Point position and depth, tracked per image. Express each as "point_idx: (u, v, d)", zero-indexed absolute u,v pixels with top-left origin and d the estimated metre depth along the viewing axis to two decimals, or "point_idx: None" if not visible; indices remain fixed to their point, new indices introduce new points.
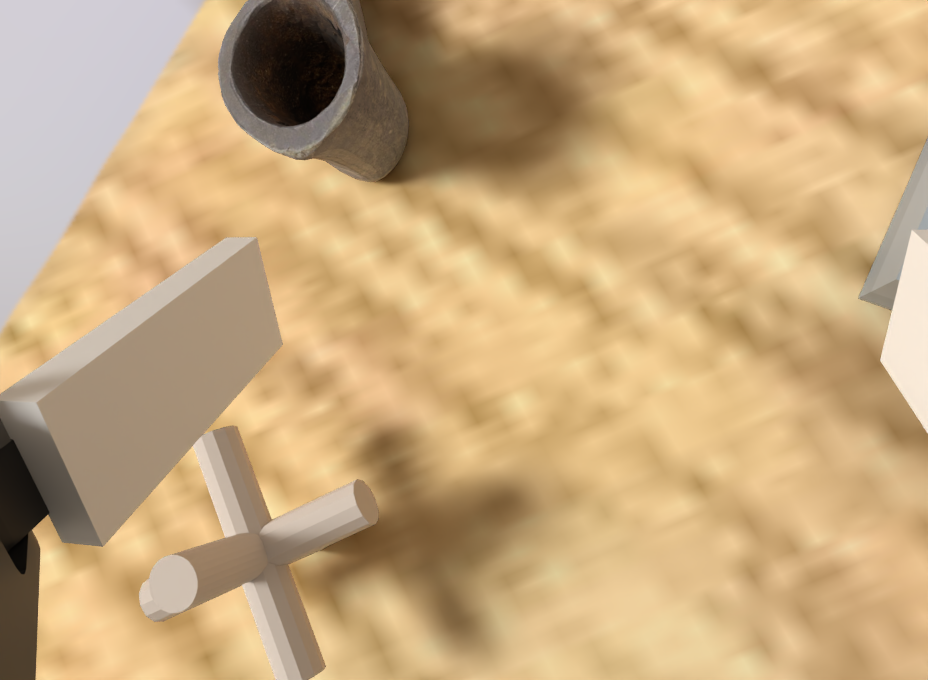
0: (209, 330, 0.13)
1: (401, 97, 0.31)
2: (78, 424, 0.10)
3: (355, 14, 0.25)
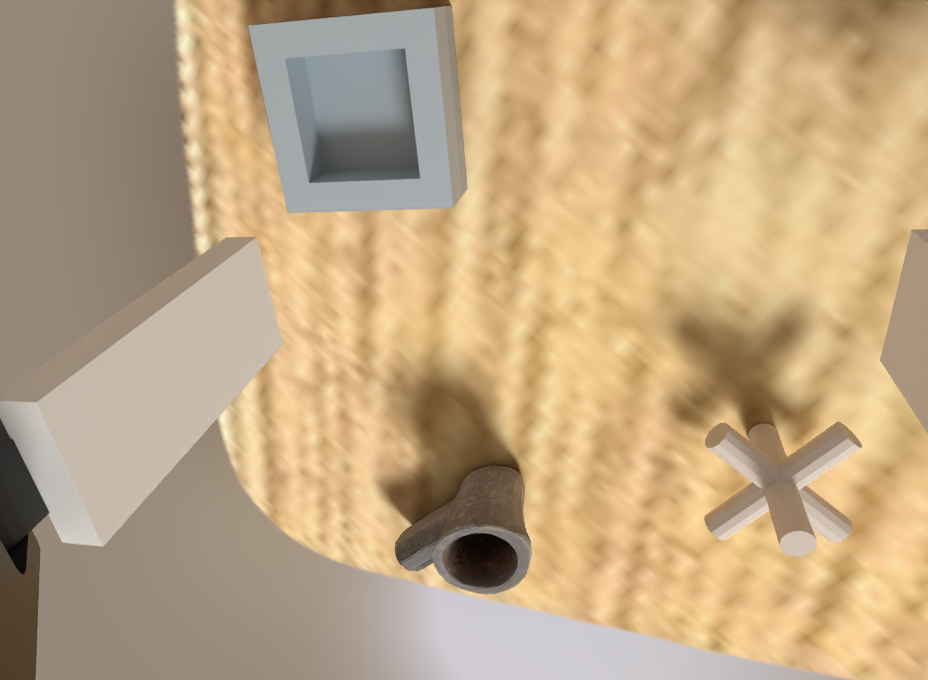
0: (209, 329, 0.13)
1: (467, 479, 0.49)
2: (78, 424, 0.10)
3: (443, 536, 0.44)
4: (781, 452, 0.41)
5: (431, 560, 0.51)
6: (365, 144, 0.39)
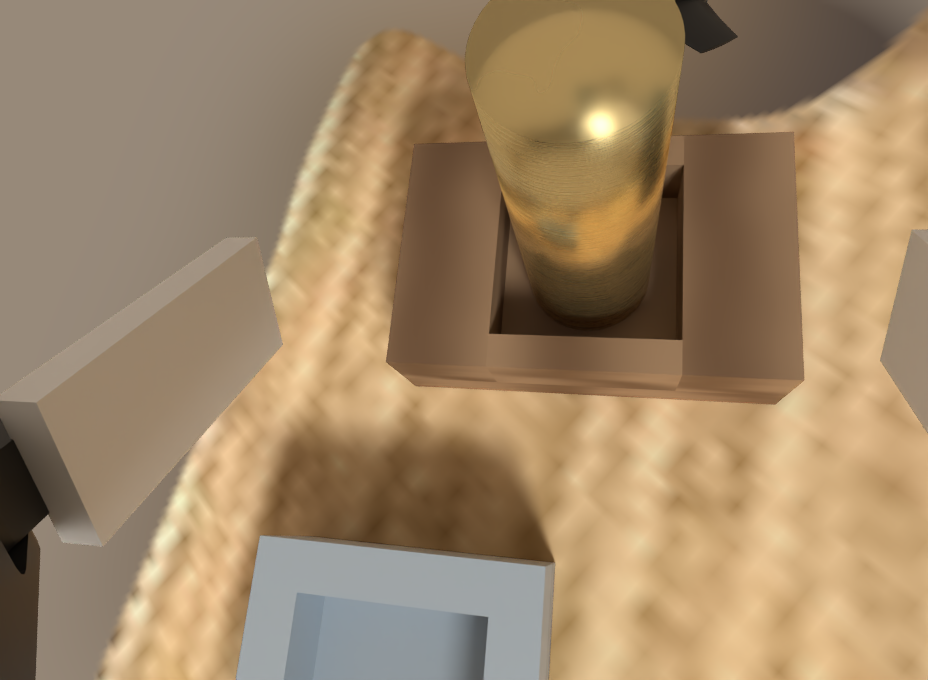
0: (209, 329, 0.13)
1: None
2: (78, 424, 0.10)
3: None
4: None
5: None
6: None
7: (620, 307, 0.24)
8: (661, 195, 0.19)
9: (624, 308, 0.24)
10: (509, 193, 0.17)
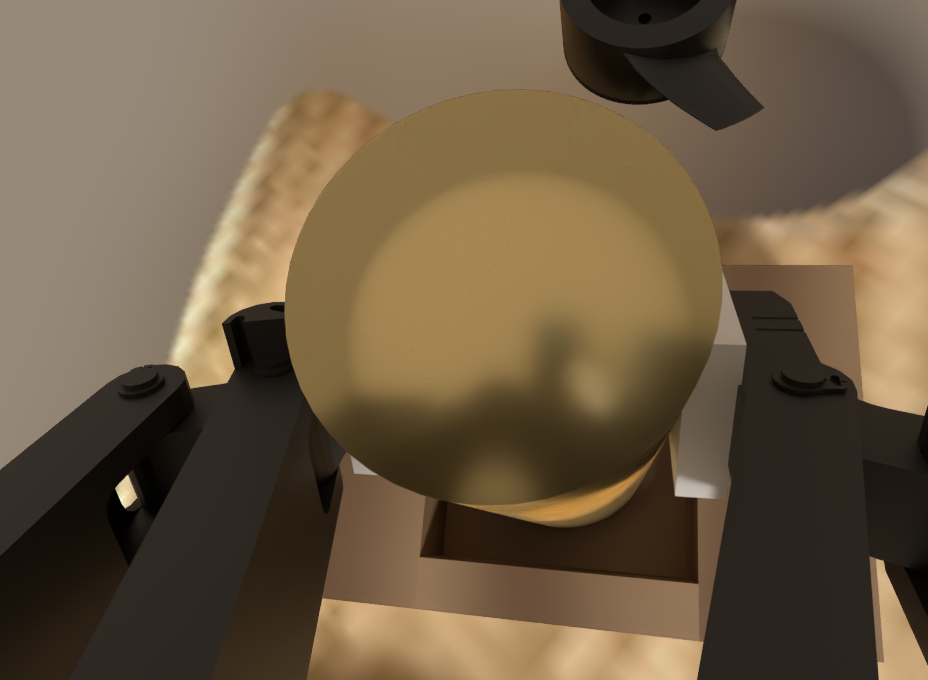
0: None
1: None
2: None
3: None
4: None
5: None
6: None
7: (607, 515, 0.17)
8: None
9: (612, 513, 0.17)
10: None
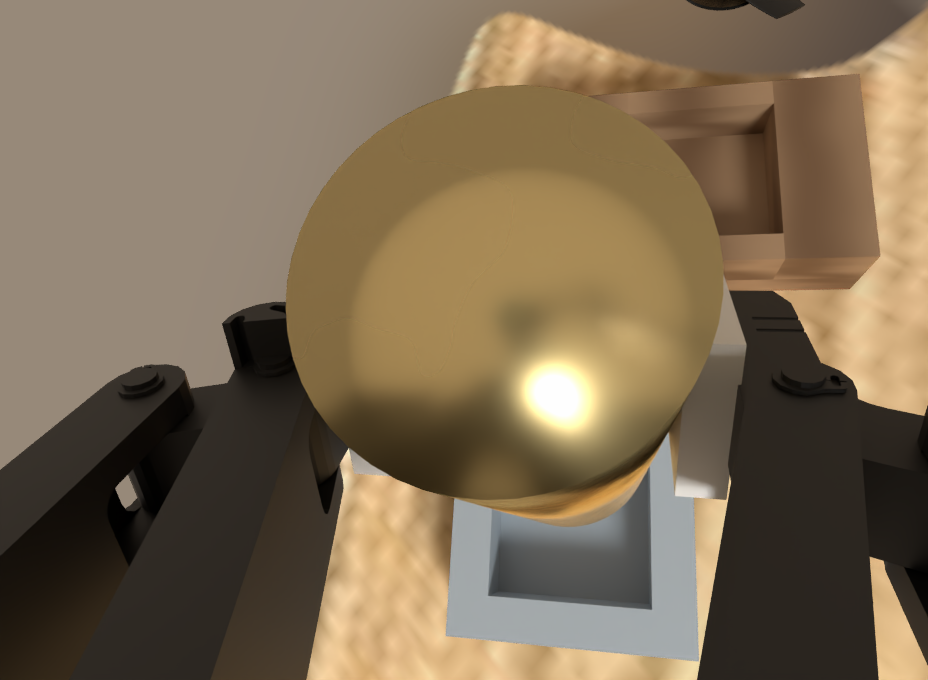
0: None
1: None
2: None
3: None
4: None
5: None
6: (560, 561, 0.30)
7: (608, 514, 0.17)
8: None
9: (613, 511, 0.17)
10: None
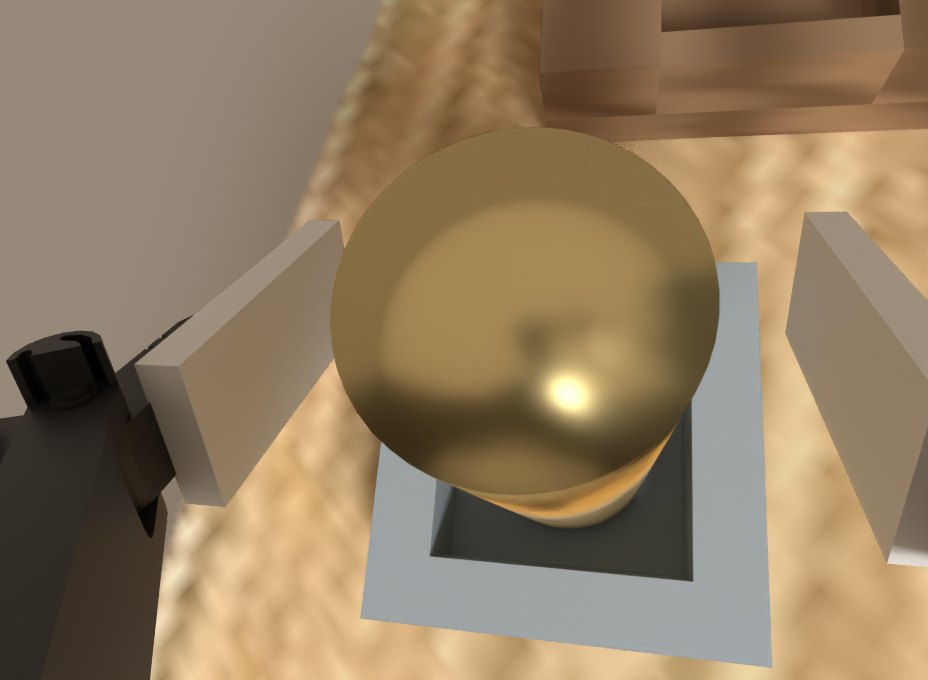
0: (304, 307, 0.14)
1: None
2: (208, 389, 0.10)
3: None
4: None
5: None
6: None
7: (609, 517, 0.18)
8: None
9: (614, 514, 0.18)
10: None
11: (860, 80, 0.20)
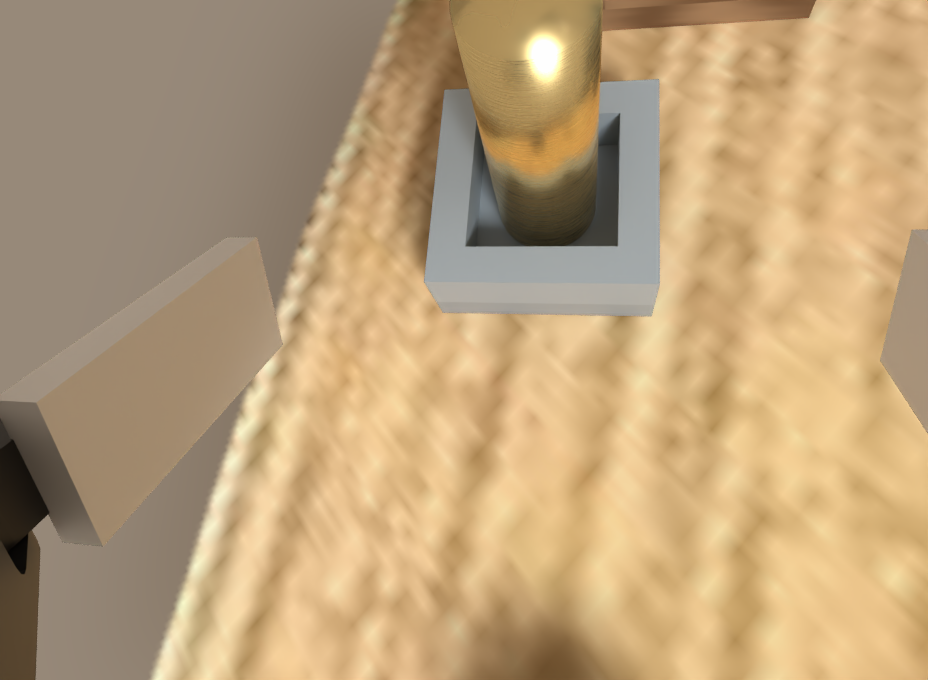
0: (210, 329, 0.13)
1: None
2: (78, 424, 0.10)
3: None
4: None
5: None
6: None
7: (571, 226, 0.30)
8: (597, 121, 0.25)
9: (574, 227, 0.30)
10: (482, 113, 0.23)
11: None
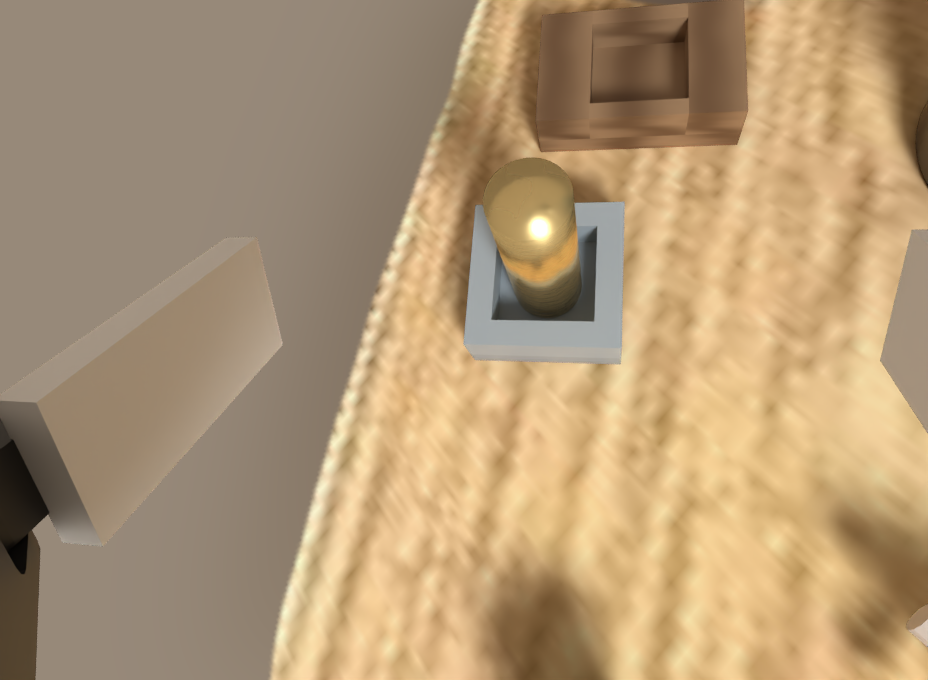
0: (209, 329, 0.13)
1: None
2: (78, 424, 0.10)
3: None
4: None
5: None
6: None
7: (564, 305, 0.44)
8: (576, 251, 0.39)
9: (566, 305, 0.44)
10: (502, 254, 0.37)
11: (676, 125, 0.46)
